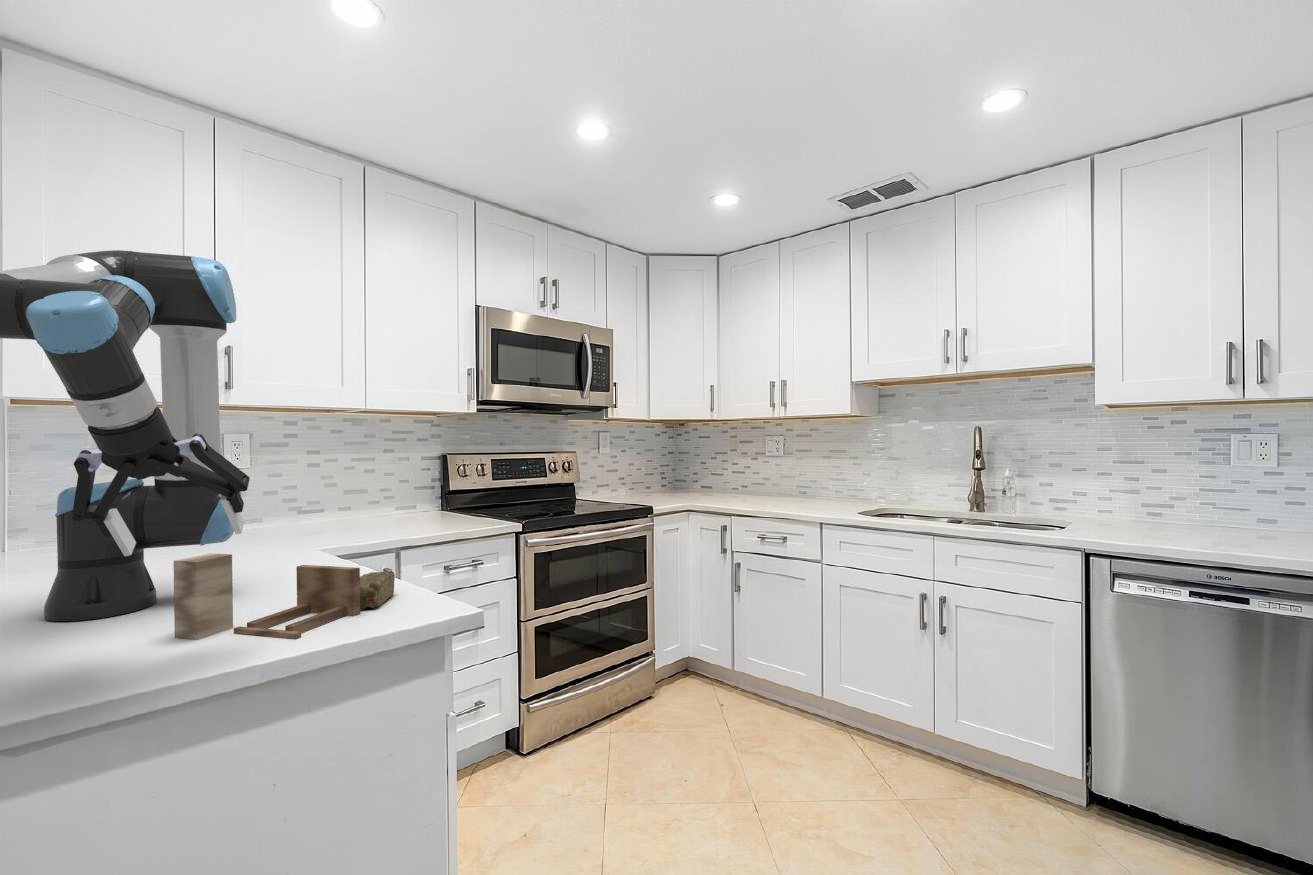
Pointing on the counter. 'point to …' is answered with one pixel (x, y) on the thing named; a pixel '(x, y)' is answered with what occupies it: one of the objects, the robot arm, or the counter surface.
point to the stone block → (376, 588)
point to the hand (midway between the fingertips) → (186, 538)
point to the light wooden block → (203, 596)
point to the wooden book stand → (313, 602)
